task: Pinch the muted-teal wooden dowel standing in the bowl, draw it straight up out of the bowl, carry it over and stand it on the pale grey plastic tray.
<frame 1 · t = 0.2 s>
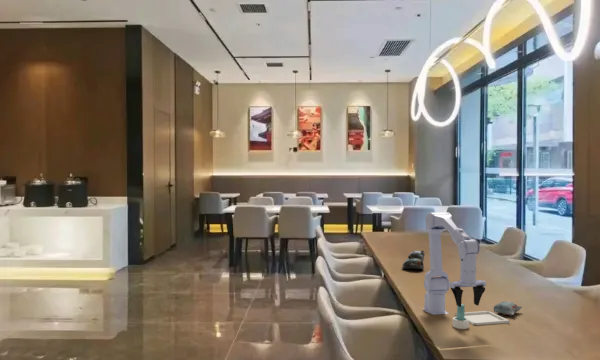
hand: (467, 305, 192), 10 cm above the table, fingers open, 7 cm apart
dowel: (460, 326, 196), point 1 cm above the table, touching bowl
tray: (481, 320, 206), on the table
packaged food: (508, 314, 216), on the table
bowl: (460, 327, 196), on the table
grey stacked sacks: (413, 269, 311), on the table
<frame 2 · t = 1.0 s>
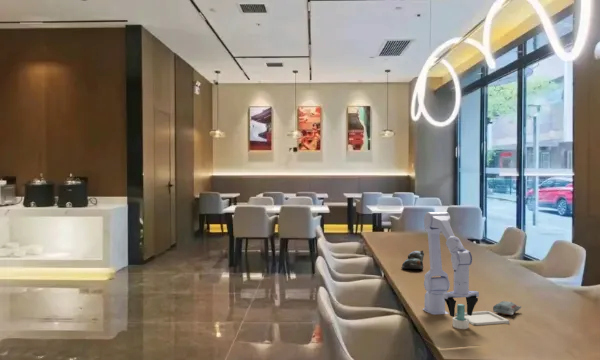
hand: (460, 315, 196), 5 cm above the table, fingers open, 7 cm apart
nothing on the table moved.
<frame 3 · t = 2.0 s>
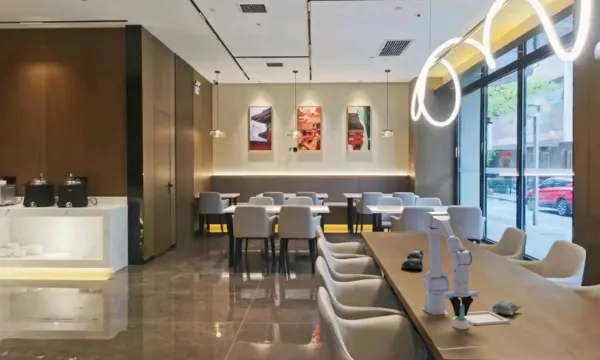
hand: (460, 315, 196), 5 cm above the table, fingers closed on dowel, 3 cm apart
dowel: (460, 326, 196), point 1 cm above the table, touching bowl, gripper
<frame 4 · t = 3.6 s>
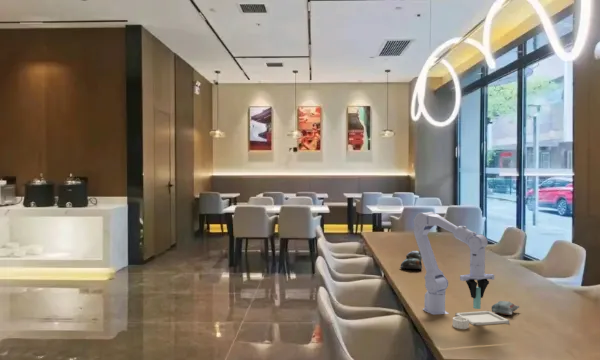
hand: (476, 297, 203), 10 cm above the table, fingers closed on dowel, 3 cm apart
dowel: (476, 308, 203), point 6 cm above the table, touching gripper
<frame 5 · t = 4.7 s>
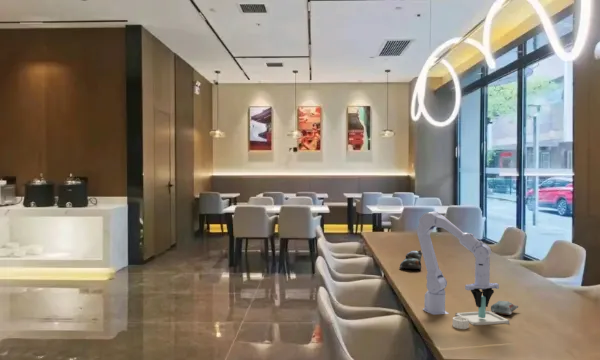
hand: (481, 306, 206), 6 cm above the table, fingers closed on dowel, 3 cm apart
dowel: (481, 316, 206), point 1 cm above the table, touching gripper
when the fingers open (6 cm above the table, at t = 5.4 s): dowel stays where it is, resting on tray.
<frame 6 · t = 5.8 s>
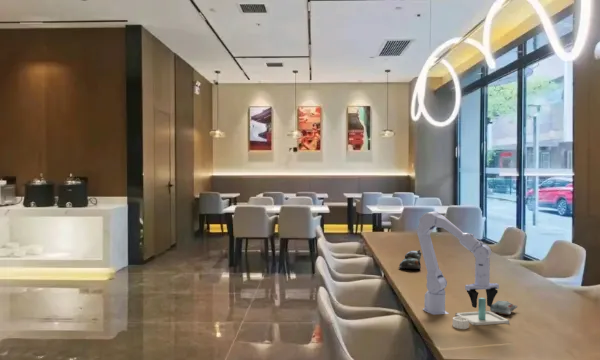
hand: (481, 306, 206), 6 cm above the table, fingers open, 6 cm apart
dowel: (481, 318, 206), point 1 cm above the table, touching tray
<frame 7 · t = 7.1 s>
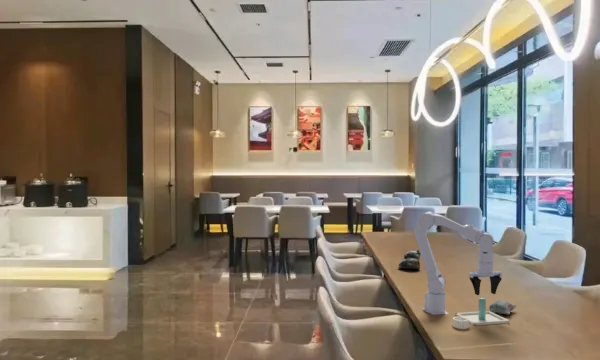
hand: (485, 294, 208), 10 cm above the table, fingers open, 7 cm apart
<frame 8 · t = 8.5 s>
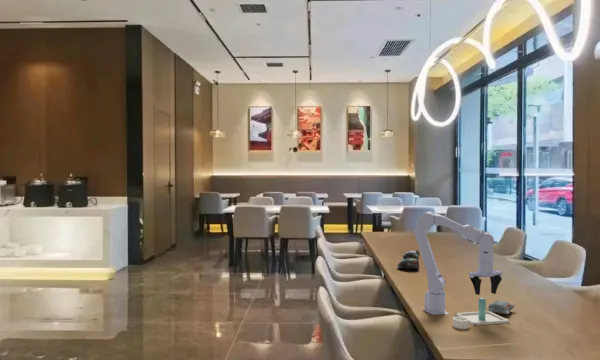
hand: (485, 293, 209), 10 cm above the table, fingers open, 7 cm apart
at the end: dowel inside the target area on the tray (0.1 cm from its centre), point 0.6 cm above the tray's base; dowel touching tray; the gripper is holding nothing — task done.
